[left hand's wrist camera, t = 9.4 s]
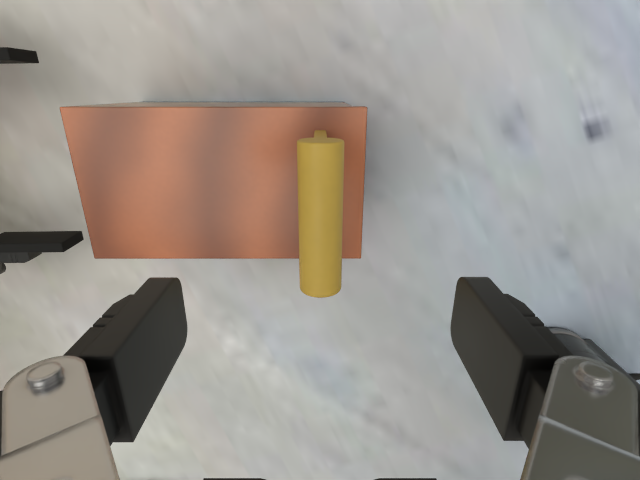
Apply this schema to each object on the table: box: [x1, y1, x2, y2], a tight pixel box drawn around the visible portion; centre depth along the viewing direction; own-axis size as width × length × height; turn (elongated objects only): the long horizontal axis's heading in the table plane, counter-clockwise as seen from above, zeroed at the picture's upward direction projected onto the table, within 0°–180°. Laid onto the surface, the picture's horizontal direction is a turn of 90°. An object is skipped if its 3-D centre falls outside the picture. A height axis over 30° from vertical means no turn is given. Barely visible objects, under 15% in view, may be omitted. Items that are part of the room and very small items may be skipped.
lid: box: [60, 106, 367, 297], centre depth 22 cm, size 18×10×9 cm, turn 90°
